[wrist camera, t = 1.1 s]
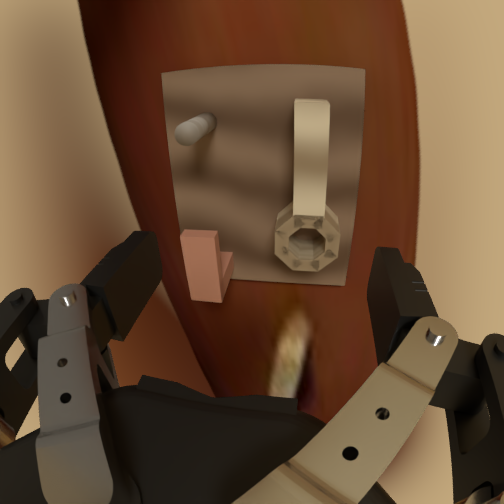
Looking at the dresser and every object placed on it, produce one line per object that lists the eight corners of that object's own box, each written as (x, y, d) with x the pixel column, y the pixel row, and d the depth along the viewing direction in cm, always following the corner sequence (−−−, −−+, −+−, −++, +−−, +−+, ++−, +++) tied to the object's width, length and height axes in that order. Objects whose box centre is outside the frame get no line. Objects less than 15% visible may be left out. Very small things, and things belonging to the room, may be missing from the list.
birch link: (333, 252, 31) (335, 272, 28) (277, 249, 32) (274, 269, 29) (344, 101, 23) (350, 105, 20) (277, 98, 24) (273, 101, 21)
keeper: (199, 207, 31) (179, 236, 26) (229, 208, 31) (214, 237, 26) (207, 266, 35) (191, 299, 30) (234, 267, 34) (221, 302, 30)
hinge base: (165, 72, 25) (131, 76, 20) (363, 69, 22) (380, 69, 17) (190, 270, 37) (171, 307, 31) (343, 280, 34) (348, 321, 29)
